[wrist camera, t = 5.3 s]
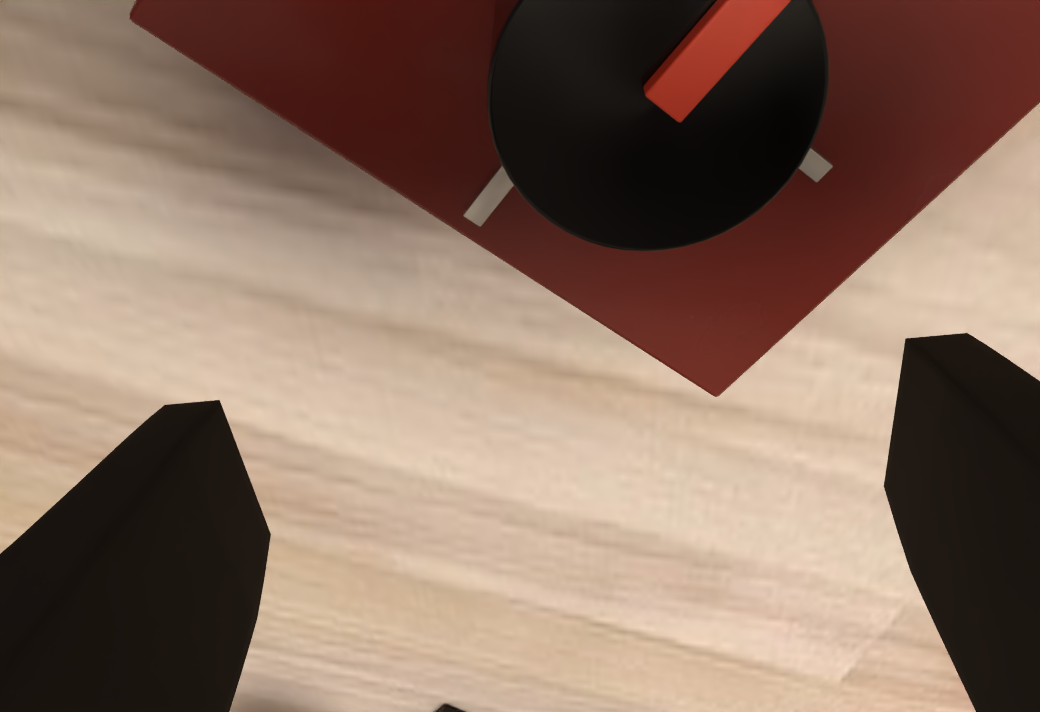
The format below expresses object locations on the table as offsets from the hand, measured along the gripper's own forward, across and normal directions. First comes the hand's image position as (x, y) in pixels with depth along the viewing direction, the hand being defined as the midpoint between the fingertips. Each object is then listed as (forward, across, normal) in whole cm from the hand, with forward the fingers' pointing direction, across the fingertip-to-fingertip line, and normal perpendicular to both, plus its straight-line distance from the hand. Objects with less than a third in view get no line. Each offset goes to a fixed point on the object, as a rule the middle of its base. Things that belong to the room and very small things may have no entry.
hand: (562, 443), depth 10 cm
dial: (+6, -1, -3) cm, 7 cm away
